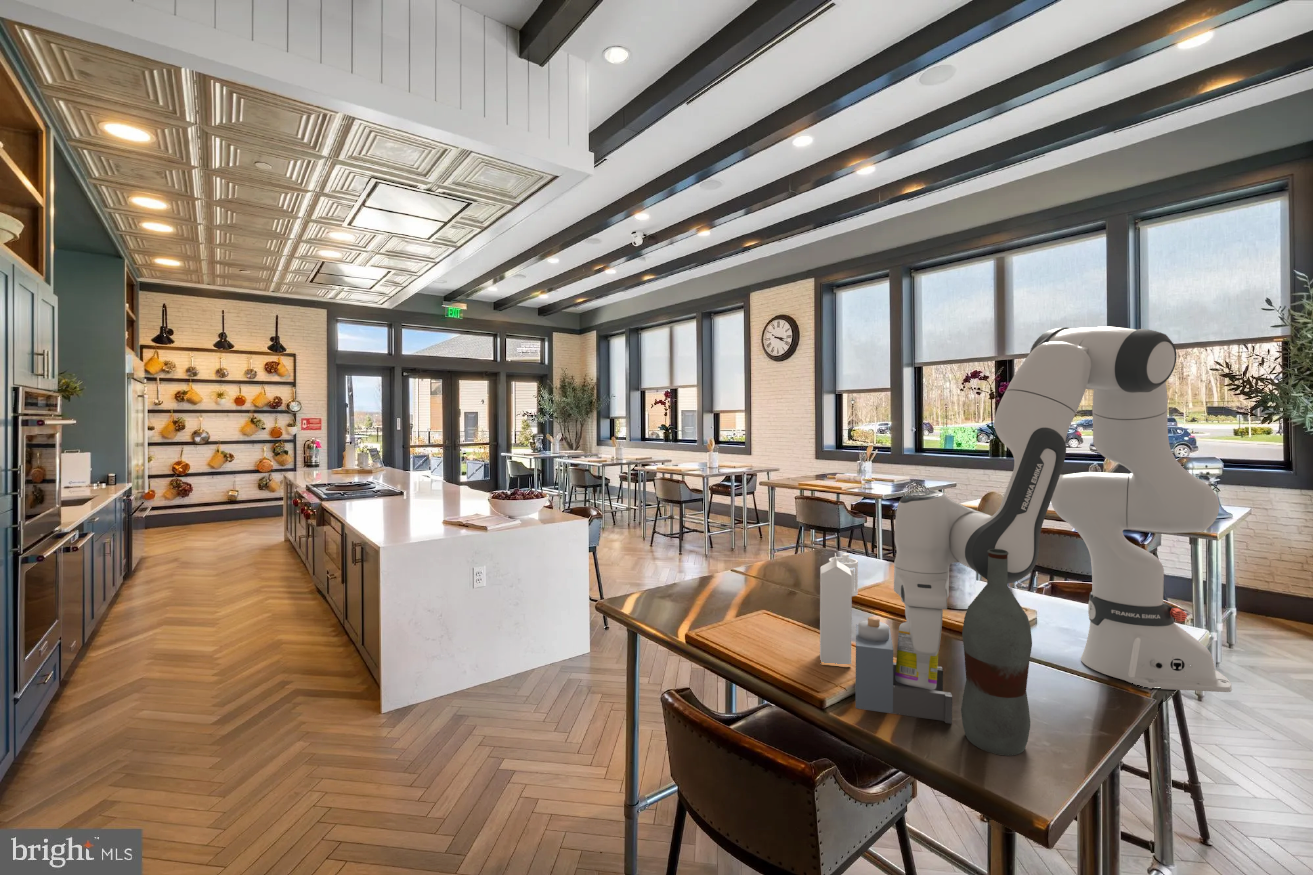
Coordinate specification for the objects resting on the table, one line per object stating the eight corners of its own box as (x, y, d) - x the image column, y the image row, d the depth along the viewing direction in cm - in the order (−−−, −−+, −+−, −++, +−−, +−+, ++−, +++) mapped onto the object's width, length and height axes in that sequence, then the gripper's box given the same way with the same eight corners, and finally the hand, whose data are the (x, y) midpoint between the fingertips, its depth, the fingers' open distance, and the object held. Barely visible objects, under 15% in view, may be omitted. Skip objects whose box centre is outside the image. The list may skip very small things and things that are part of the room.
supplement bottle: (928, 688, 106) (933, 614, 109) (941, 692, 99) (947, 614, 103) (889, 679, 107) (896, 607, 110) (900, 684, 100) (907, 606, 104)
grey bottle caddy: (939, 683, 112) (940, 609, 111) (951, 723, 97) (952, 638, 97) (855, 673, 116) (856, 601, 116) (855, 709, 102) (856, 628, 101)
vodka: (962, 749, 90) (965, 556, 87) (958, 718, 98) (961, 541, 96) (1035, 764, 86) (1040, 561, 83) (1024, 730, 94) (1028, 545, 92)
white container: (860, 612, 152) (860, 554, 152) (853, 620, 146) (854, 560, 146) (833, 607, 156) (833, 551, 156) (825, 615, 150) (825, 556, 150)
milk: (820, 665, 120) (820, 558, 119) (819, 654, 126) (819, 551, 125) (852, 668, 119) (852, 559, 118) (849, 656, 124) (849, 552, 124)
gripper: (897, 567, 115) (896, 638, 115) (905, 598, 95) (904, 682, 96) (933, 570, 113) (932, 642, 113) (948, 602, 93) (947, 688, 94)
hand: (919, 661), depth 104 cm, fingers closed on supplement bottle, 8 cm apart
